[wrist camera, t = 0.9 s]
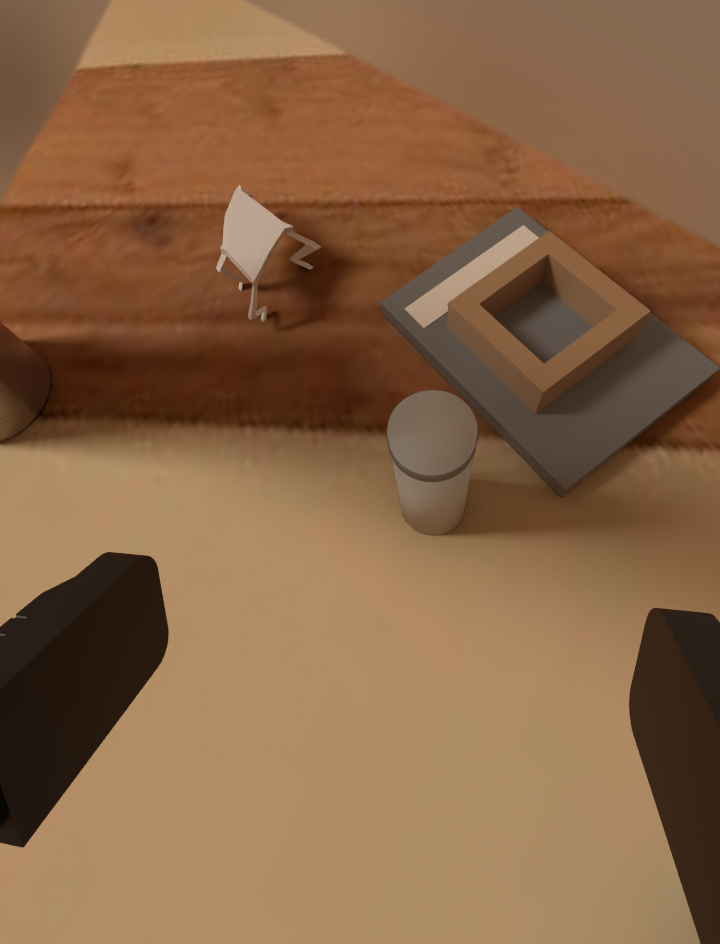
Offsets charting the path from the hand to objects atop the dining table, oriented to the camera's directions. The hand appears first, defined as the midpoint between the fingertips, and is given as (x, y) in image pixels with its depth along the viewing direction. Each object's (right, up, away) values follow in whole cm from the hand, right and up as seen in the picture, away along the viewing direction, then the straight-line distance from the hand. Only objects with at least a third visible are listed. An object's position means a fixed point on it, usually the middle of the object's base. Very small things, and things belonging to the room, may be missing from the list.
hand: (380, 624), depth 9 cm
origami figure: (-8, +20, +39) cm, 45 cm away
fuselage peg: (+5, 0, +29) cm, 29 cm away
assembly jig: (+13, +12, +33) cm, 37 cm away
